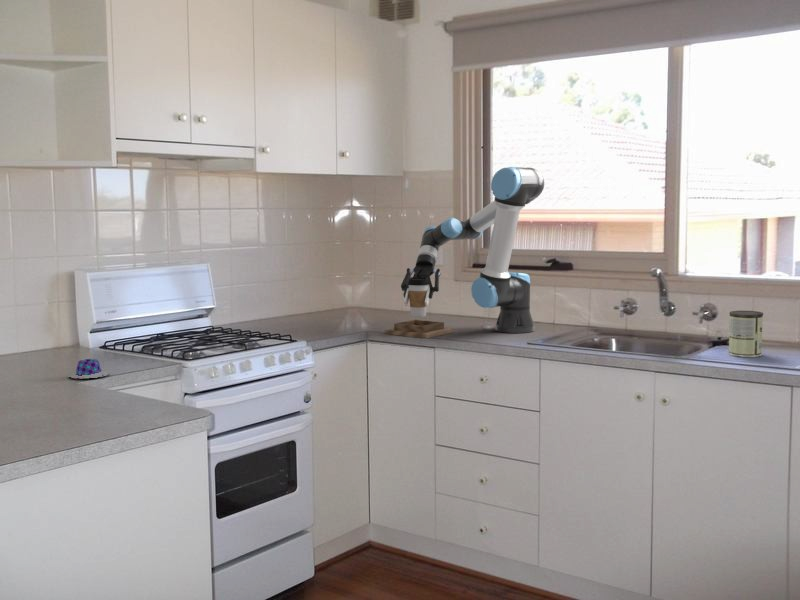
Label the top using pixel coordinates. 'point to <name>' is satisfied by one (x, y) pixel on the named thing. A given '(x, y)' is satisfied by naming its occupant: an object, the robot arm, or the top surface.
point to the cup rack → (419, 329)
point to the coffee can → (745, 333)
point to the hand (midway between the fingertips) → (415, 303)
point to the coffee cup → (418, 295)
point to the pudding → (88, 367)
